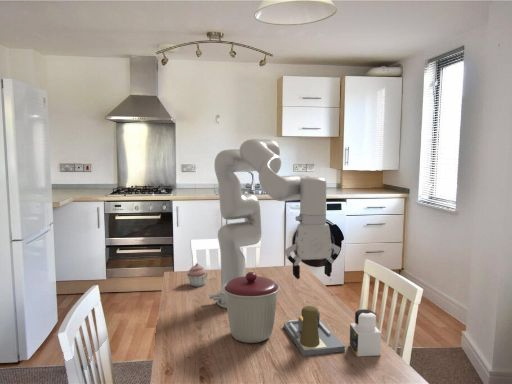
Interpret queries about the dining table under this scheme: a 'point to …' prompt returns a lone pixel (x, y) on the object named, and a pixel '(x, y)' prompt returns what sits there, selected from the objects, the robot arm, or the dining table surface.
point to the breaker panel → (326, 338)
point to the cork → (309, 327)
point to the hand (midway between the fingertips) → (312, 276)
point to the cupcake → (197, 275)
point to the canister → (251, 307)
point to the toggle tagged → (300, 324)
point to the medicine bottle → (365, 334)
